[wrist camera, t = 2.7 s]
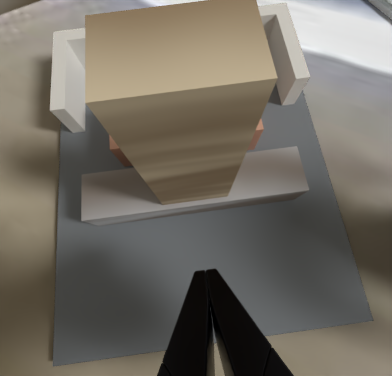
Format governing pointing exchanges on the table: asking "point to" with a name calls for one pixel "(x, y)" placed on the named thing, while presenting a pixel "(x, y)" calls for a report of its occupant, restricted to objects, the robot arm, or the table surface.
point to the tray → (75, 66)
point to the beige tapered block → (183, 112)
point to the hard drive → (383, 6)
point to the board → (200, 253)
